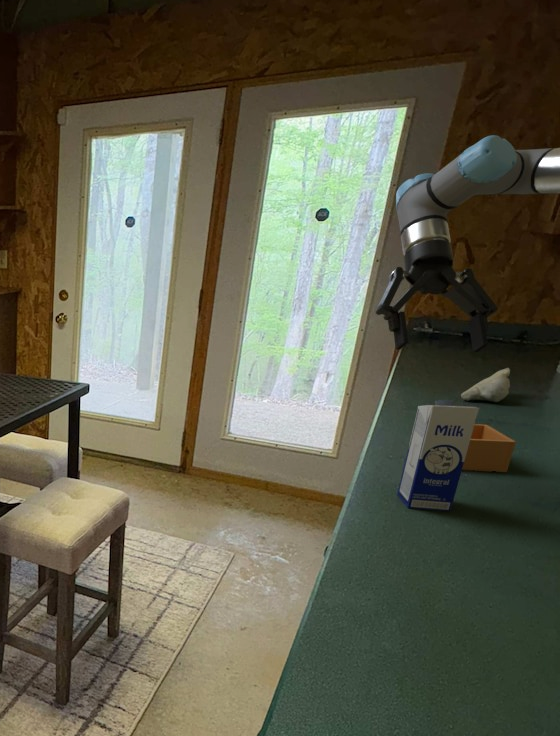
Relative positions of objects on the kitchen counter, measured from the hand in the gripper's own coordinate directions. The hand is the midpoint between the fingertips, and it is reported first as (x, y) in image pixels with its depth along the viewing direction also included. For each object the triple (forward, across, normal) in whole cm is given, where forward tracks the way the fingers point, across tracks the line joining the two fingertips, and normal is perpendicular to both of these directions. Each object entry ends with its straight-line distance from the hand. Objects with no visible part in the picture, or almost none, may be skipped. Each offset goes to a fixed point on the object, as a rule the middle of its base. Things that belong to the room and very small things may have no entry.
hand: (441, 347), depth 116 cm
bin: (+11, -20, -30) cm, 38 cm away
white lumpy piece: (-24, -59, -72) cm, 96 cm away
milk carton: (+27, 0, -12) cm, 29 cm away
